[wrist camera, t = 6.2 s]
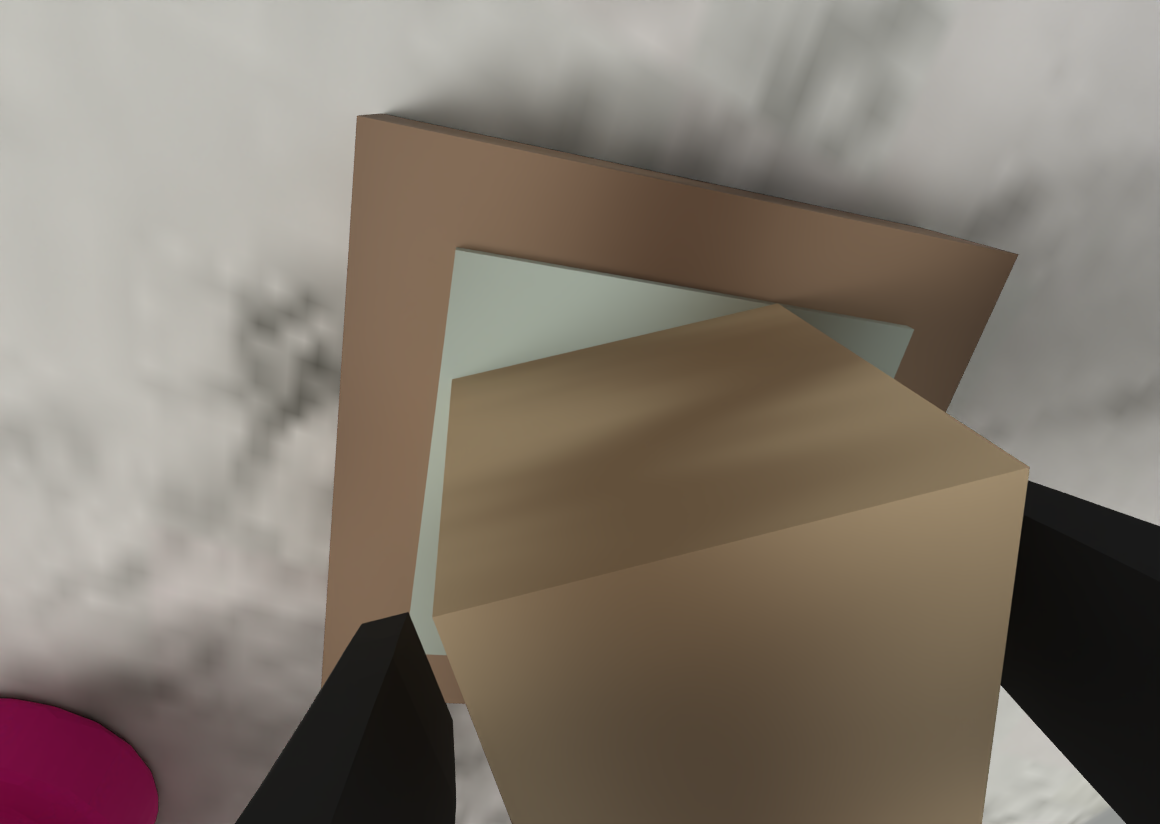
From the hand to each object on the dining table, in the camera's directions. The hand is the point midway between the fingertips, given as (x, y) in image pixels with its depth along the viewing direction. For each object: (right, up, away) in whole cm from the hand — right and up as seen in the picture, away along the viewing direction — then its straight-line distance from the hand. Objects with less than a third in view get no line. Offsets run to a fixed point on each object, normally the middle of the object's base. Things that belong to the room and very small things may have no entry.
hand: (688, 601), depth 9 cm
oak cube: (0, +1, +2) cm, 3 cm away
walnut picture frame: (-1, +2, +5) cm, 5 cm away
